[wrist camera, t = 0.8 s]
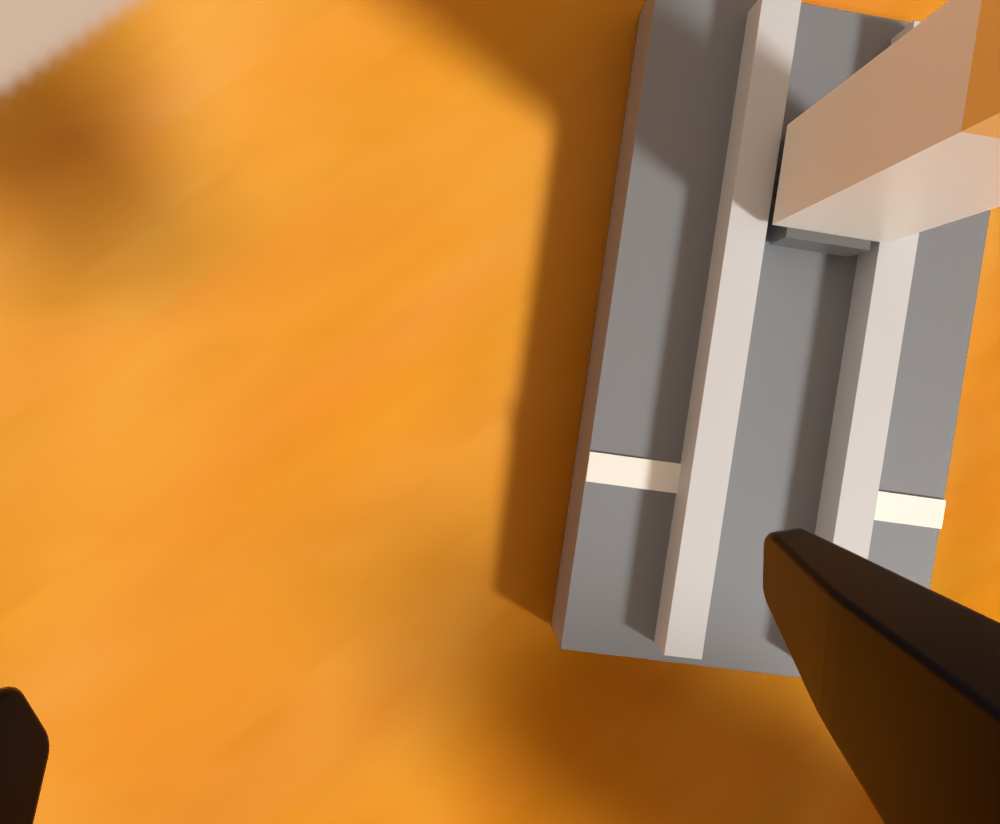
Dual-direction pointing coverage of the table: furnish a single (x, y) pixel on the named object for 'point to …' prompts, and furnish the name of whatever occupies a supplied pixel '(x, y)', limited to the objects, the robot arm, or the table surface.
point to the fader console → (750, 352)
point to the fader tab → (898, 140)
